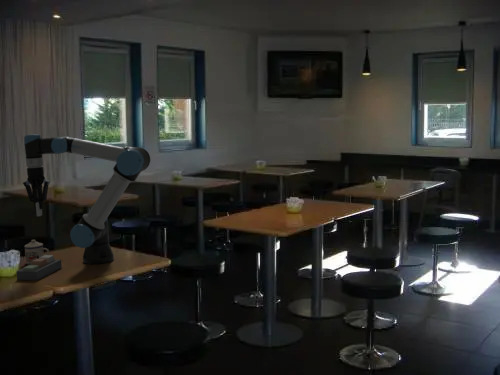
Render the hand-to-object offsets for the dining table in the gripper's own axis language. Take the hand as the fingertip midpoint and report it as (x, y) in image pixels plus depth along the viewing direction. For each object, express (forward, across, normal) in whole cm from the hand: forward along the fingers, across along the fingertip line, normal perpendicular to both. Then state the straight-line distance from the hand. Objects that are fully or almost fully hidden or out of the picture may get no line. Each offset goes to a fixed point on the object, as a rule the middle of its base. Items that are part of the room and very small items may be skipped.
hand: (39, 215), depth 304 cm
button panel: (+26, +4, -11) cm, 28 cm away
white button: (+23, +4, -4) cm, 23 cm away
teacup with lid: (+26, -9, +10) cm, 29 cm away
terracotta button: (+23, +4, -11) cm, 25 cm away
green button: (+24, +3, -18) cm, 30 cm away
